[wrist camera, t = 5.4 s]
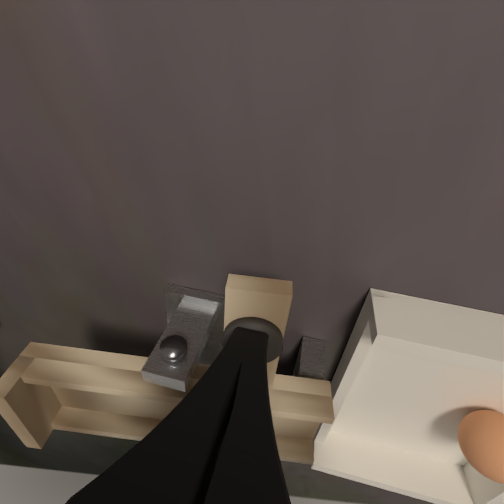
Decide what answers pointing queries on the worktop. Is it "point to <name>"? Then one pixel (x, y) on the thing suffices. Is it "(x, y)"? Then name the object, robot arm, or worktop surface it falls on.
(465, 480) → the dish
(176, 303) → the pivot base
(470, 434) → the egg
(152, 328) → the worktop surface
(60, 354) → the lever
